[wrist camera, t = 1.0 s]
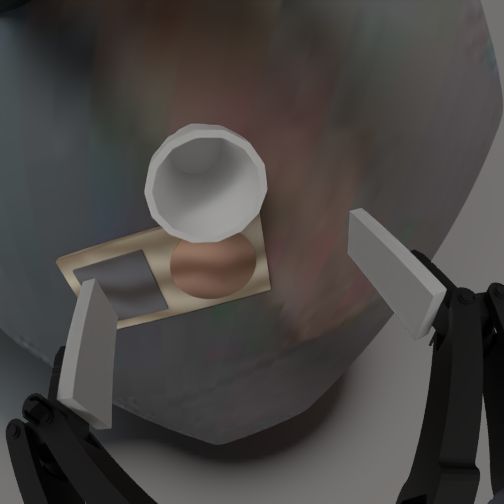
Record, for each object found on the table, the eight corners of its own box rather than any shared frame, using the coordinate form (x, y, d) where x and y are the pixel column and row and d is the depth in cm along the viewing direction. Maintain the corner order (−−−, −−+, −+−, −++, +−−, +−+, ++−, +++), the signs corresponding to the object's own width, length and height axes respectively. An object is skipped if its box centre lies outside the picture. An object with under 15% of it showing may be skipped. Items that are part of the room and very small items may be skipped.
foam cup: (176, 198, 35) (178, 259, 24) (141, 133, 29) (122, 166, 19) (247, 166, 35) (281, 213, 24) (219, 97, 29) (243, 109, 19)
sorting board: (58, 257, 34) (55, 263, 33) (256, 200, 38) (259, 205, 36) (102, 327, 43) (101, 334, 42) (269, 285, 46) (271, 291, 45)
